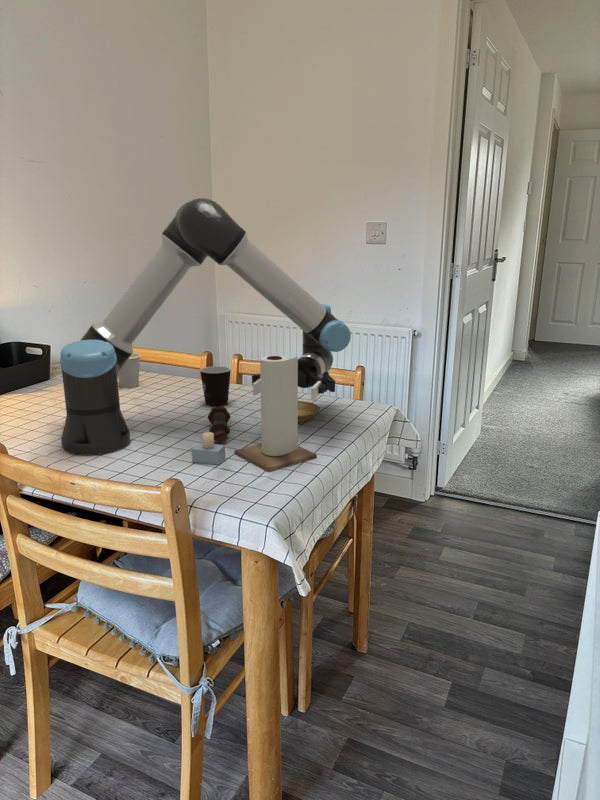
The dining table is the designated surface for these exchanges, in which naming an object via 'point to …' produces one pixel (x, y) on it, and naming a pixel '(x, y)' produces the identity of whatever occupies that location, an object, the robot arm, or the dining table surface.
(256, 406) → the dining table surface
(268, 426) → the paper towel roll
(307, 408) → the plant saucer
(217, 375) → the coffee mug
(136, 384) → the dixie cup
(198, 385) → the dining table surface
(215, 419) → the dark brown knobby rod
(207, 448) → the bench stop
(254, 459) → the board
